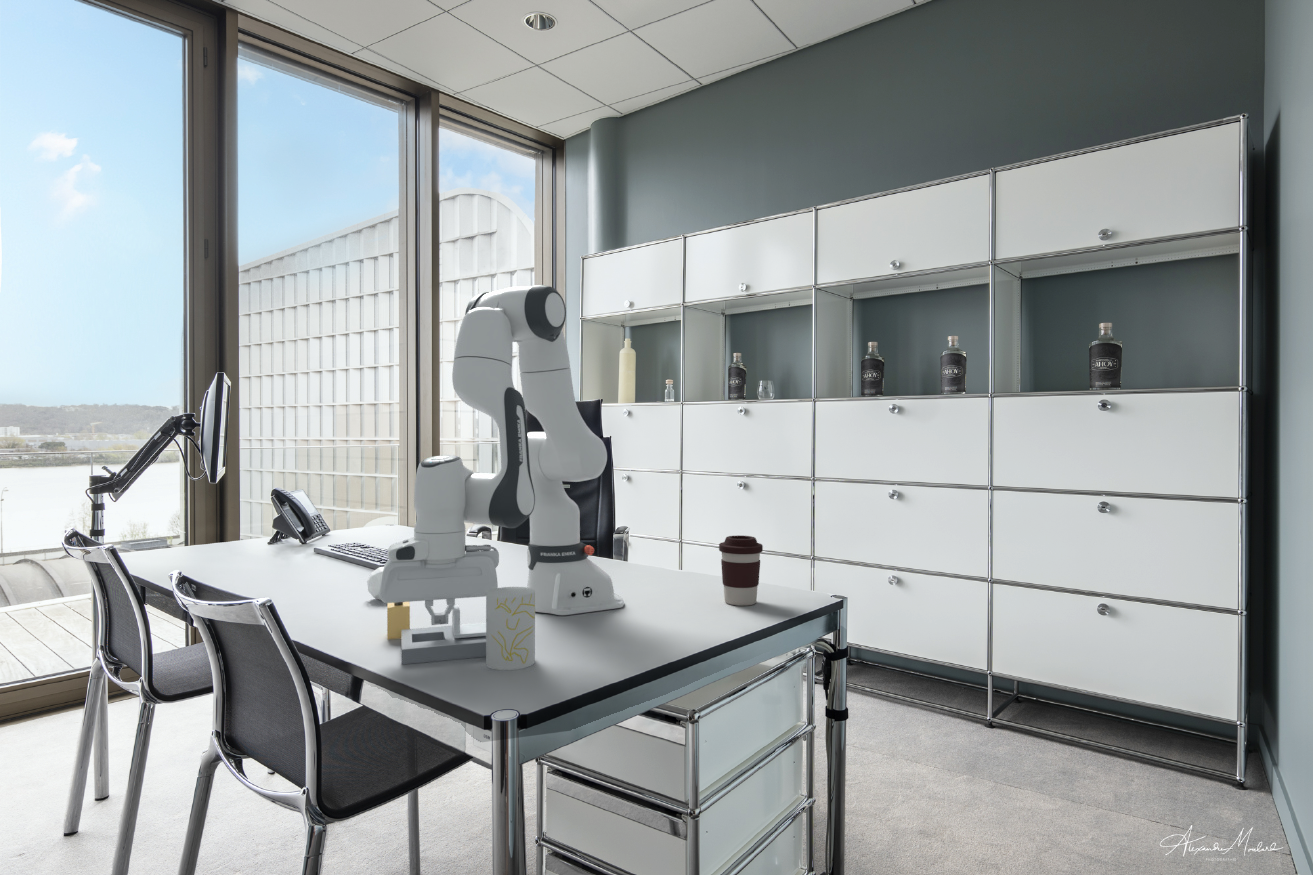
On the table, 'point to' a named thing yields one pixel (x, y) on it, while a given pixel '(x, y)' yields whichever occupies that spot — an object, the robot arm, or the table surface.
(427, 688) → the table surface
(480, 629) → the white l-shaped bracket
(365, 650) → the table surface
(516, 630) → the cup
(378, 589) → the geometric ball
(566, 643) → the table surface
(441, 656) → the socket board
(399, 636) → the plug
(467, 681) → the table surface
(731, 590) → the coffee cup
